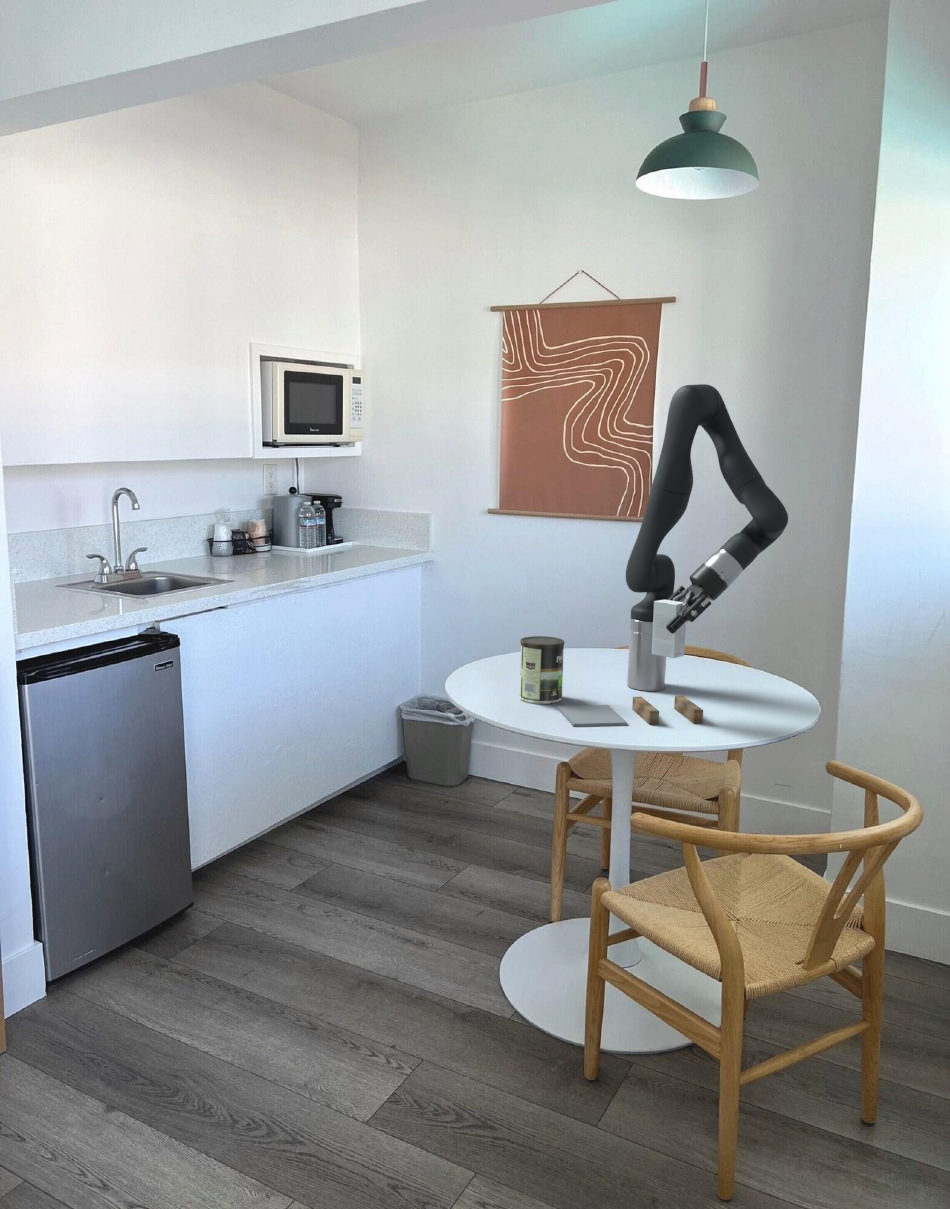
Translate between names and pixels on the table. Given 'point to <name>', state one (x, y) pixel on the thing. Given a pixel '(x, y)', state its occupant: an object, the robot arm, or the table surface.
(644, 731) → the table surface
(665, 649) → the skincare box
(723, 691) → the table surface
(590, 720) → the mat
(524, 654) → the coffee can
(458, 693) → the table surface
